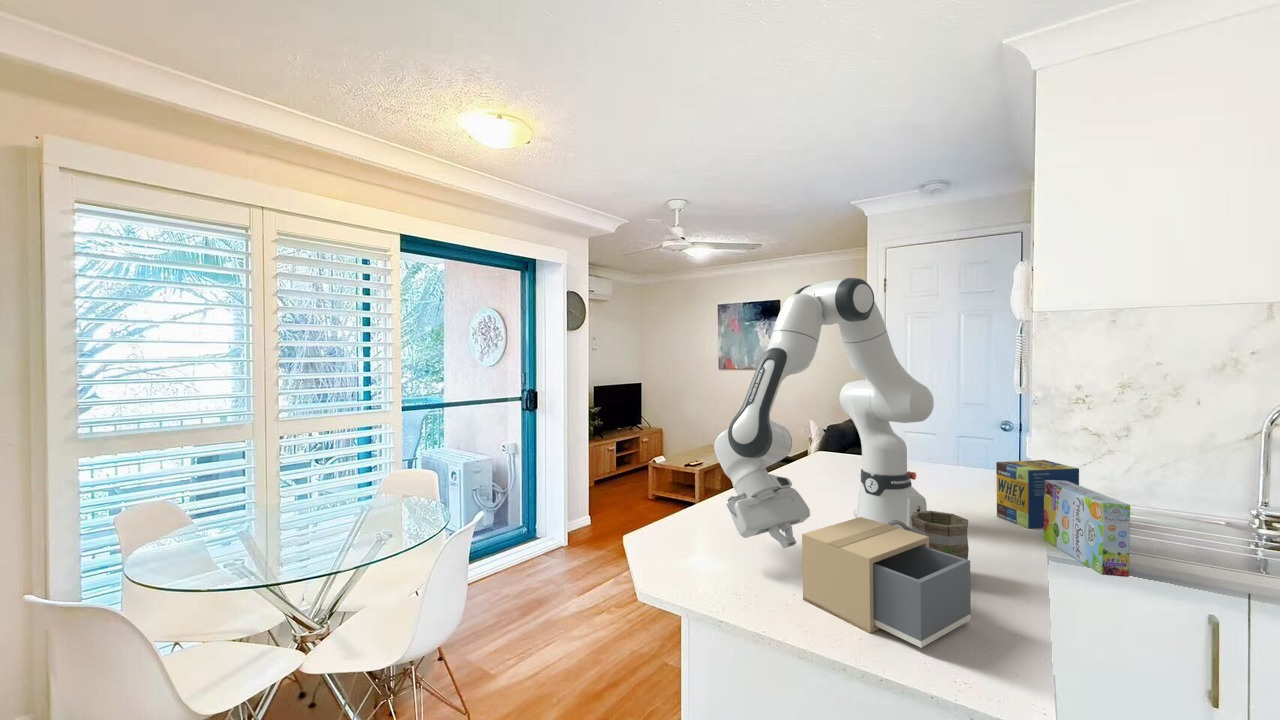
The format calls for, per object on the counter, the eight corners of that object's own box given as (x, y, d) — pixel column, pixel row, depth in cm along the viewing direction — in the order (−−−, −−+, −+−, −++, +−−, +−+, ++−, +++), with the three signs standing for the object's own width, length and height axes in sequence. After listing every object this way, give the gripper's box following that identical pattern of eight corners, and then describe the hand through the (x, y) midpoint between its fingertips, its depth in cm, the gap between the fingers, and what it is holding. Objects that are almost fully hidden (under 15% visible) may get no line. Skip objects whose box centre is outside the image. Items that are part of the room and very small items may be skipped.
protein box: (995, 516, 142) (995, 461, 142) (1045, 513, 144) (1044, 459, 144) (1028, 529, 132) (1027, 469, 132) (1081, 526, 134) (1080, 467, 134)
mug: (959, 567, 109) (958, 512, 109) (980, 590, 99) (979, 528, 99) (880, 561, 113) (879, 508, 113) (893, 583, 102) (892, 524, 102)
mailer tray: (856, 573, 105) (855, 524, 105) (970, 619, 86) (970, 560, 86) (806, 592, 97) (805, 539, 97) (921, 647, 78) (920, 582, 78)
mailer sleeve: (861, 576, 105) (861, 516, 105) (929, 603, 94) (929, 536, 93) (802, 599, 96) (801, 533, 96) (870, 633, 84) (869, 558, 84)
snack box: (1133, 578, 103) (1132, 504, 103) (1101, 576, 104) (1100, 503, 104) (1067, 540, 124) (1067, 479, 124) (1041, 539, 125) (1041, 478, 125)
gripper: (730, 490, 111) (763, 549, 103) (794, 477, 122) (829, 529, 113) (716, 505, 115) (748, 563, 106) (780, 491, 125) (812, 543, 117)
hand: (790, 545), depth 110 cm, fingers closed
